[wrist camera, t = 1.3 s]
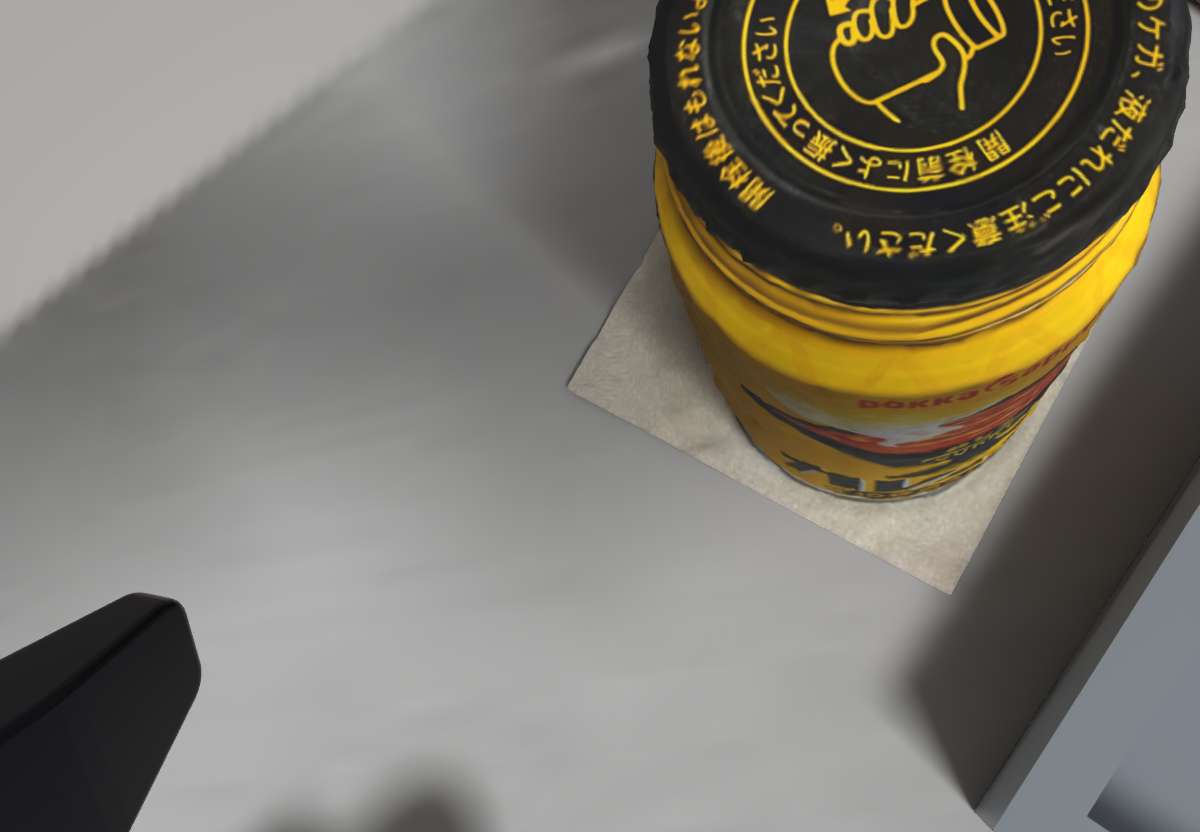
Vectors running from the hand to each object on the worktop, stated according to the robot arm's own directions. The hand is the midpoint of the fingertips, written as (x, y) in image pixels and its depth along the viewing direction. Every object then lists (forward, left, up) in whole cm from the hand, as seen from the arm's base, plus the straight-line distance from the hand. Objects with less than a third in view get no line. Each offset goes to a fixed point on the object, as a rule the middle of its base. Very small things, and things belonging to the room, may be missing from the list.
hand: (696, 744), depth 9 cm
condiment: (+6, +5, -13) cm, 15 cm away
